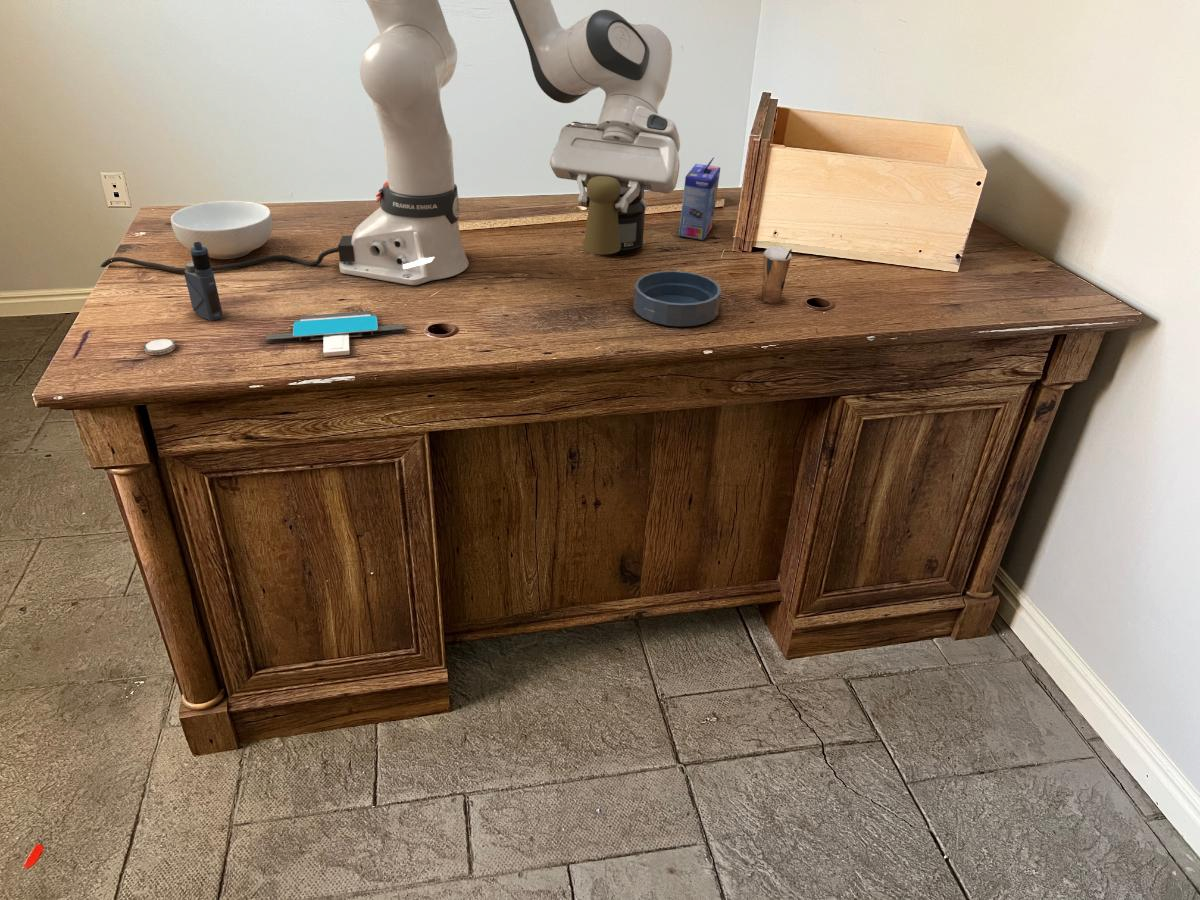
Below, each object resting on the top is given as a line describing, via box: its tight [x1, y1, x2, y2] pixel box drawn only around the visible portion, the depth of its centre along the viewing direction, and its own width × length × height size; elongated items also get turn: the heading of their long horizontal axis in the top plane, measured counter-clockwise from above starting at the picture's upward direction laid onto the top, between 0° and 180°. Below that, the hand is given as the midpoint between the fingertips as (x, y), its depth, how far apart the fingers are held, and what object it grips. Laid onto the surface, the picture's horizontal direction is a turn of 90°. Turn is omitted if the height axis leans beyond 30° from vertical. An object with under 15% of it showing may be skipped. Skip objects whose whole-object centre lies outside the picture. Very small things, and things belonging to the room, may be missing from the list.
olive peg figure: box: [582, 176, 621, 255], centre depth 133 cm, size 6×6×11 cm
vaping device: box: [184, 242, 224, 322], centre depth 130 cm, size 3×5×12 cm, turn 58°
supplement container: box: [589, 187, 647, 258], centre depth 161 cm, size 10×10×12 cm
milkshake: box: [761, 245, 793, 304], centre depth 143 cm, size 5×5×10 cm
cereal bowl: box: [170, 200, 273, 260], centre depth 154 cm, size 17×17×7 cm
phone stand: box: [265, 310, 405, 358], centre depth 128 cm, size 20×12×2 cm, turn 105°
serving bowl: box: [632, 270, 722, 328], centre depth 140 cm, size 14×14×4 cm
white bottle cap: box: [143, 338, 176, 356], centre depth 124 cm, size 4×4×1 cm
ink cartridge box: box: [678, 157, 721, 241], centre depth 169 cm, size 10×6×14 cm, turn 163°
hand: (601, 207), depth 132 cm, fingers closed on olive peg figure, 5 cm apart
